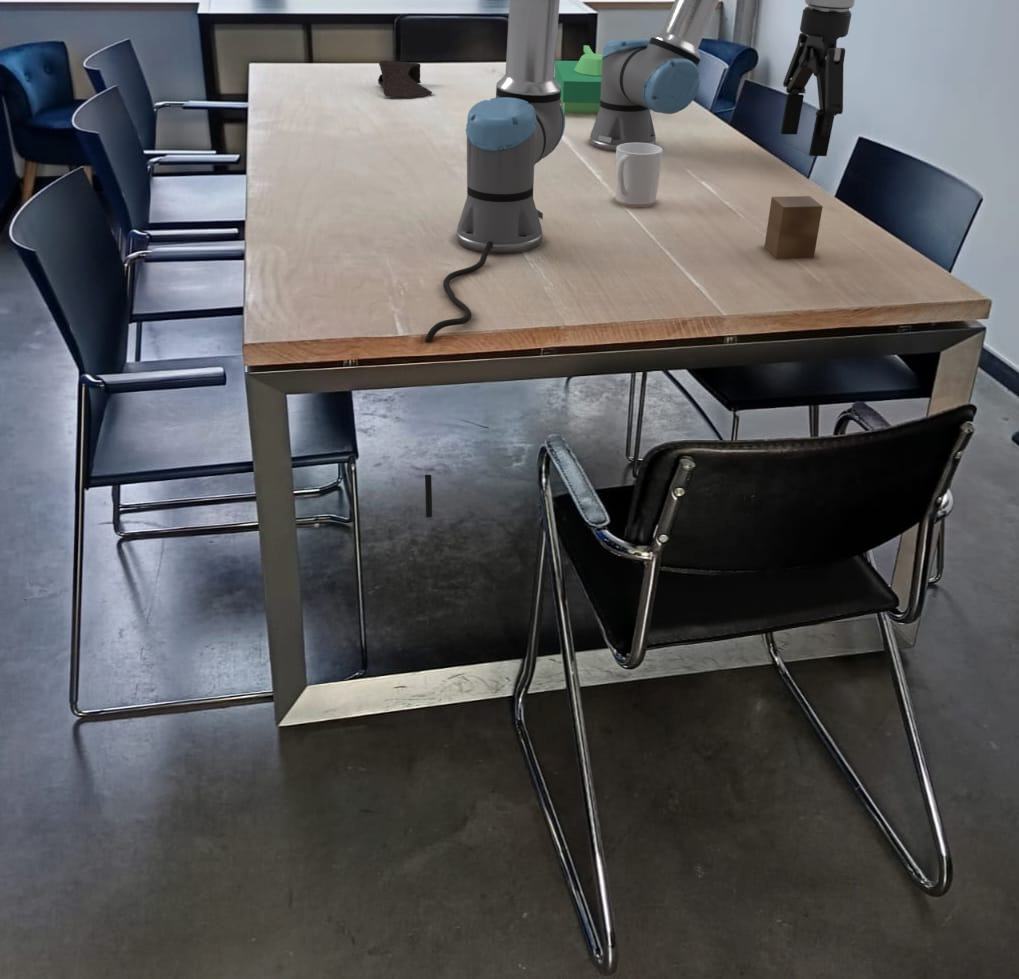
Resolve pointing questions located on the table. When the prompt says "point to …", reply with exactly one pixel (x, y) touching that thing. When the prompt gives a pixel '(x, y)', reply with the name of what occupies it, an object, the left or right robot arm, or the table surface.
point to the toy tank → (580, 83)
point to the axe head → (401, 79)
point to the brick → (793, 227)
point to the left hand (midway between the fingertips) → (802, 144)
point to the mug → (637, 174)
